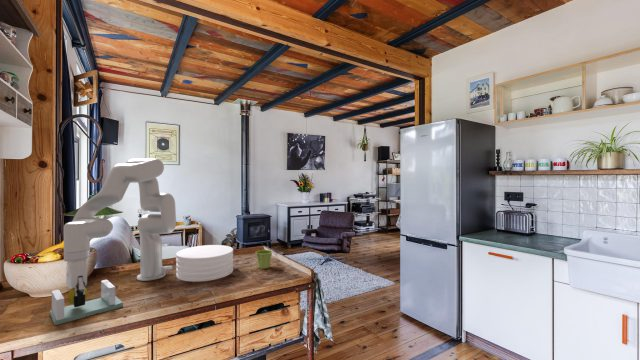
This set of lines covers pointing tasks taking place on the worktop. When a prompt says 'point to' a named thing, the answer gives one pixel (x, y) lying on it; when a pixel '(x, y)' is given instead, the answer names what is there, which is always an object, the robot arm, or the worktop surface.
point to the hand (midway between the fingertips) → (77, 303)
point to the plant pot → (263, 258)
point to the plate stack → (204, 263)
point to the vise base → (78, 308)
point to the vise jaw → (108, 292)
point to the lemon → (72, 294)
